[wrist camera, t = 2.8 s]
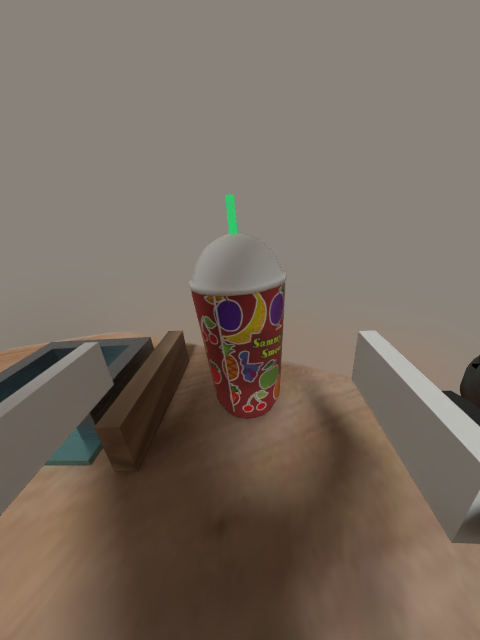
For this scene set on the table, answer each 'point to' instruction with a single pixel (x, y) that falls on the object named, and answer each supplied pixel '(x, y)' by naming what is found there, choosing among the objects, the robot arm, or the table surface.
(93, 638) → the table surface
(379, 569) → the table surface
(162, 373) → the walnut rail
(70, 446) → the keyed cradle
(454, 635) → the table surface
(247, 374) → the smoothie
